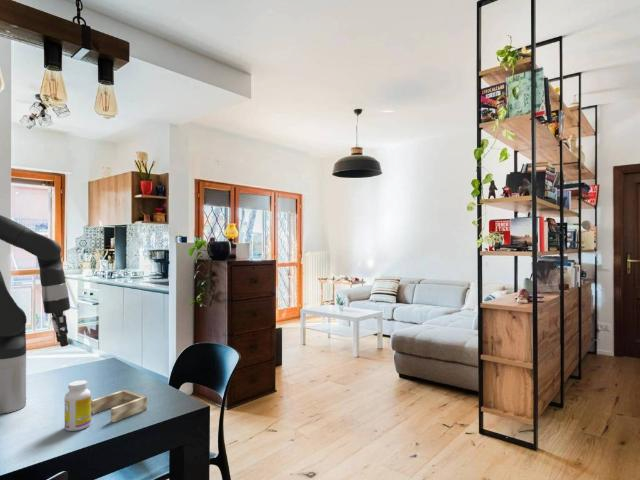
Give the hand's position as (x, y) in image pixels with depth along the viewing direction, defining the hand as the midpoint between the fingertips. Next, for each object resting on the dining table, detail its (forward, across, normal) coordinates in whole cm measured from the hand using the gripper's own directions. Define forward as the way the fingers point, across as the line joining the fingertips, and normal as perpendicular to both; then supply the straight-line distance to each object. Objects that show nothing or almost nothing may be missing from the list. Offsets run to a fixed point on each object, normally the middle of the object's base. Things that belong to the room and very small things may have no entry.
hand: (62, 343), depth 139 cm
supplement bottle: (+20, +27, -2) cm, 34 cm away
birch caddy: (+21, +24, +9) cm, 33 cm away
